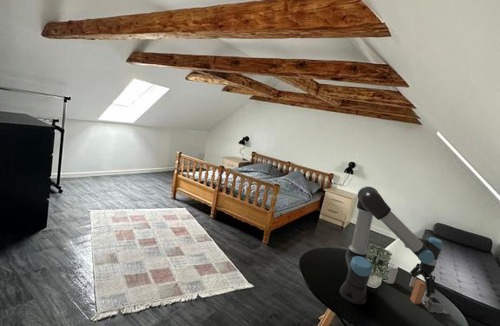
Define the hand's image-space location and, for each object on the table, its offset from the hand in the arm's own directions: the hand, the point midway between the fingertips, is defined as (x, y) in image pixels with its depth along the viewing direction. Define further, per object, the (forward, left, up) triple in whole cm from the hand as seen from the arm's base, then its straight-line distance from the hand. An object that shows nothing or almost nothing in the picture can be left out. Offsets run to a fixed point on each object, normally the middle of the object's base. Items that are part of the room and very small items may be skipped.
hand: (417, 293), depth 174 cm
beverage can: (-8, +19, -6) cm, 22 cm away
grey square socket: (+10, -2, -6) cm, 12 cm away
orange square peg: (0, 0, -6) cm, 6 cm away
